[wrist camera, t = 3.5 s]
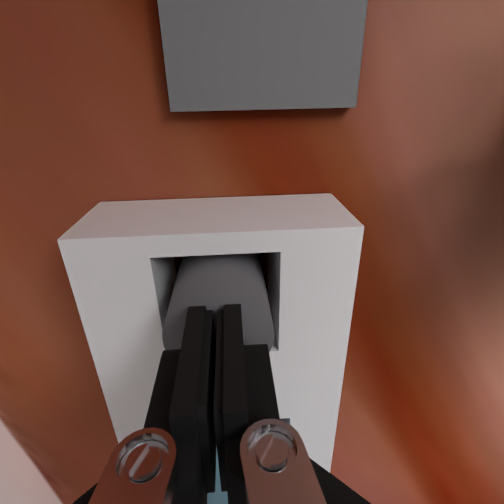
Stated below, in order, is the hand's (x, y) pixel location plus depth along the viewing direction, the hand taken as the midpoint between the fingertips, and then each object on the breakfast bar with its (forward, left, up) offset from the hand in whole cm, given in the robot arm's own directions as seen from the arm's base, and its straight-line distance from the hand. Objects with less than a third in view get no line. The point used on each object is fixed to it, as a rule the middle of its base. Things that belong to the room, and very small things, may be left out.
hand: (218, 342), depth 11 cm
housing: (+5, 0, -6) cm, 7 cm away
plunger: (0, 0, -5) cm, 5 cm away
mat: (-10, +2, -6) cm, 12 cm away
